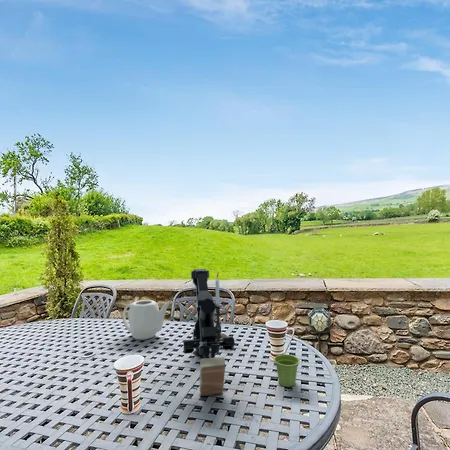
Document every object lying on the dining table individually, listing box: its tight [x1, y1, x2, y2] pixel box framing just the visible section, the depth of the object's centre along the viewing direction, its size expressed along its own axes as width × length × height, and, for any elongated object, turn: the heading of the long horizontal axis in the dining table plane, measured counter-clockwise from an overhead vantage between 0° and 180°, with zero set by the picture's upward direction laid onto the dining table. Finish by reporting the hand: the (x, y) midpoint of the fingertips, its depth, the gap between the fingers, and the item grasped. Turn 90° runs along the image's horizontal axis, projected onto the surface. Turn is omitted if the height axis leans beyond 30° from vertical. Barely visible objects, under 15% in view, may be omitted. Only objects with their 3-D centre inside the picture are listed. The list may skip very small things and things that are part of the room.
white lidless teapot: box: [122, 299, 171, 340], centre depth 168 cm, size 16×27×19 cm, turn 83°
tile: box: [199, 356, 226, 397], centre depth 106 cm, size 3×8×15 cm, turn 97°
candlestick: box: [214, 271, 229, 341], centre depth 163 cm, size 11×11×35 cm
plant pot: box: [273, 353, 301, 388], centre depth 115 cm, size 9×9×9 cm
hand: (211, 368), depth 109 cm, fingers closed
